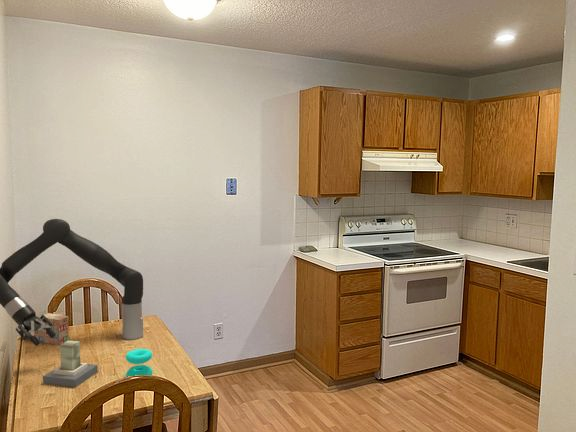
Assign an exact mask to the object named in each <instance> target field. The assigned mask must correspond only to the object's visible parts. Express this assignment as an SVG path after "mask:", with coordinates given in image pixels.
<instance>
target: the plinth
mask: <svg viewBox="0 0 576 432" xmlns="http://www.w3.org/2000/svg"><path fill="white" fill-rule="evenodd" d="M97 373H99V369H98V364H93V363H92V364H91V363H88V362H87V363H86V362H80V367H78V368H77V369H75V370H73V371H69V370H61V365H59V366H57V367H55V368H53V369H52V370H50V371H49V372H46V374H44V375H42V384H43V385H44V384H45V385H51V386H52V385H53V386H61V387H69V388H77V387H78V386H81V384H82V383H84V382H86V381H87V380H89V379H90V378H91V377H93V376H94V375H95V374H97Z"/></svg>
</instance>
